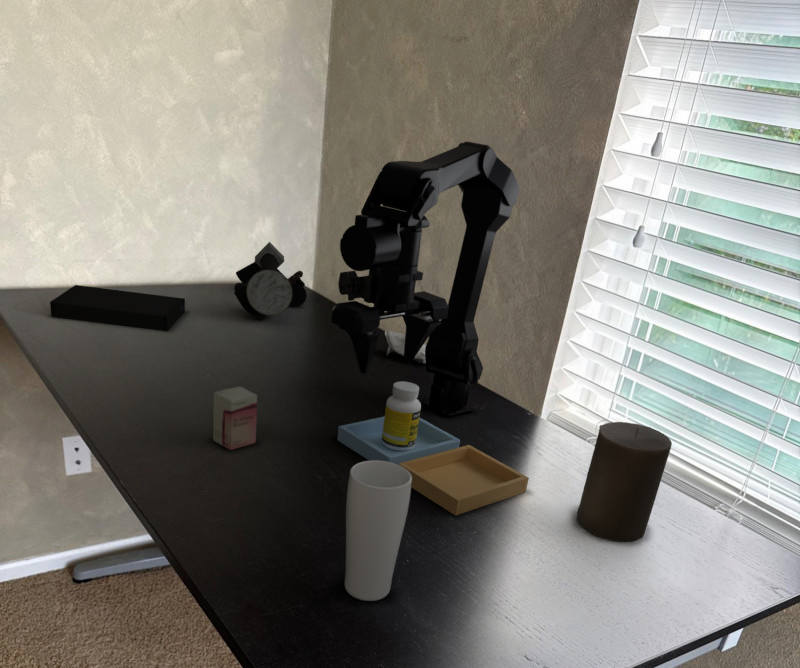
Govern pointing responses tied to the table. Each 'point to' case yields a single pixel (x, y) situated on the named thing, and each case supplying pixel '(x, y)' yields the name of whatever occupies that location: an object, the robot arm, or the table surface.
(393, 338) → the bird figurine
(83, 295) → the external hard drive
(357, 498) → the drinking glass
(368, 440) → the tray
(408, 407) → the supplement bottle
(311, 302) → the table surface
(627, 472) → the pillar candle
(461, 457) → the tray
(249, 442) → the small box
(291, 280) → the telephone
